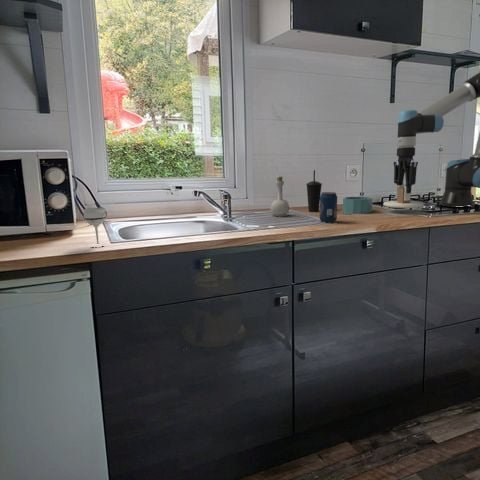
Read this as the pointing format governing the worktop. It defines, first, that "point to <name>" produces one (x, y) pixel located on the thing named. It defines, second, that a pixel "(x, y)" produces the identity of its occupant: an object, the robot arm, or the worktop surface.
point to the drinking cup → (313, 195)
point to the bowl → (357, 205)
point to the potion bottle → (279, 201)
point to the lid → (401, 203)
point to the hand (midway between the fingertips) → (403, 199)
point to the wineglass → (95, 217)
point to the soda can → (328, 207)
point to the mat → (402, 212)
